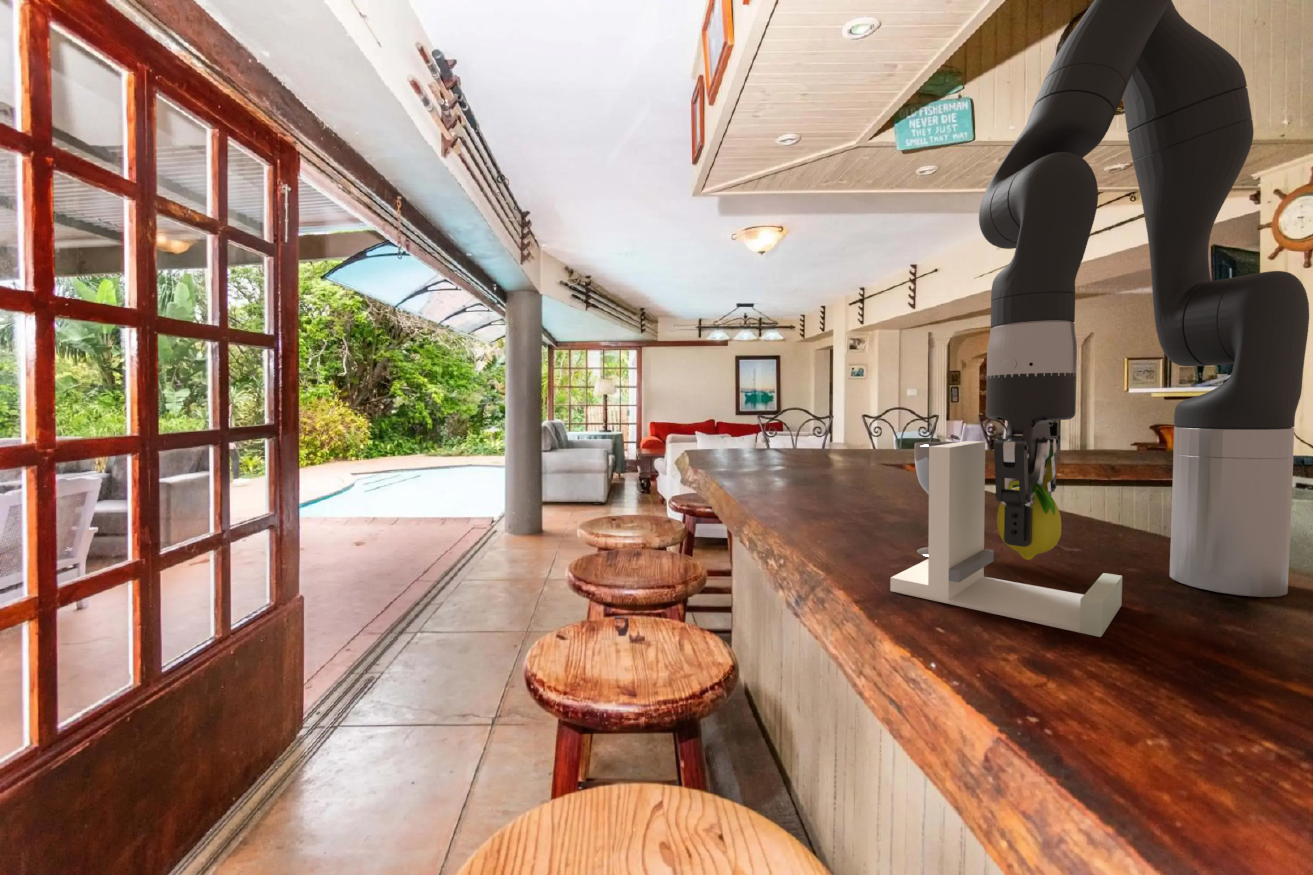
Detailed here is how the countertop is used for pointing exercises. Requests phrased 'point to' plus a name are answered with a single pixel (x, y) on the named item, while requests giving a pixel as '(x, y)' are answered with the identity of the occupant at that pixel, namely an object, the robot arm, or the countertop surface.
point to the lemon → (1037, 524)
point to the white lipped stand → (989, 556)
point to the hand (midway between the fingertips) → (1026, 539)
